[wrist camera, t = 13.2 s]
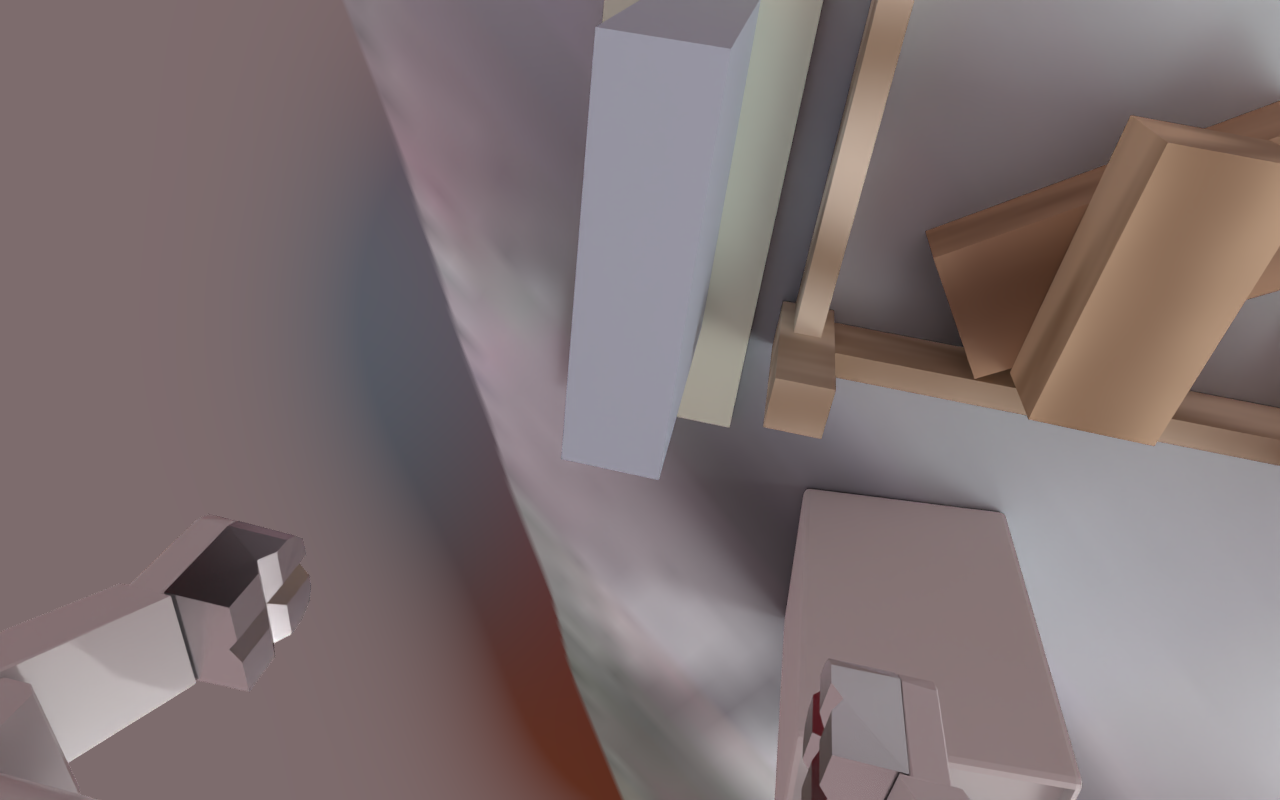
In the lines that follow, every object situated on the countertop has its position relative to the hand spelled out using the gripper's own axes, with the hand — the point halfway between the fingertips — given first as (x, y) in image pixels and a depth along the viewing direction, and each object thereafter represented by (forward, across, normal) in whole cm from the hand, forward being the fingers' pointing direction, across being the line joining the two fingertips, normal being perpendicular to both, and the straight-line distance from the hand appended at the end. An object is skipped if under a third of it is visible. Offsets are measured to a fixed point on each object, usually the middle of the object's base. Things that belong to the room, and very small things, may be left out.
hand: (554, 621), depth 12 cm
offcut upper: (+19, -14, -1) cm, 23 cm away
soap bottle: (+22, -11, +16) cm, 29 cm away
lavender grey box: (+20, +1, -1) cm, 21 cm away
